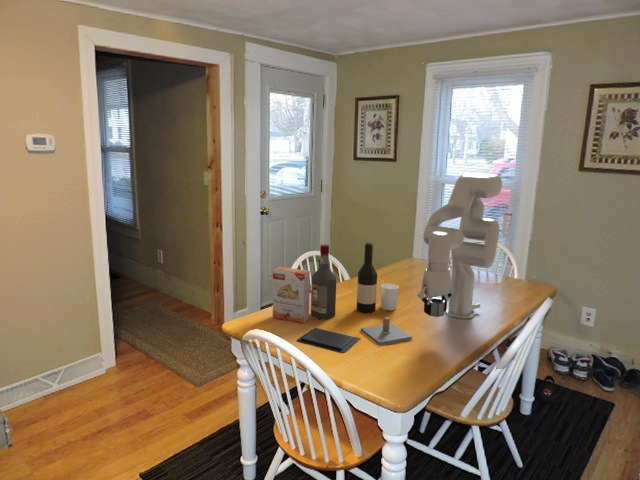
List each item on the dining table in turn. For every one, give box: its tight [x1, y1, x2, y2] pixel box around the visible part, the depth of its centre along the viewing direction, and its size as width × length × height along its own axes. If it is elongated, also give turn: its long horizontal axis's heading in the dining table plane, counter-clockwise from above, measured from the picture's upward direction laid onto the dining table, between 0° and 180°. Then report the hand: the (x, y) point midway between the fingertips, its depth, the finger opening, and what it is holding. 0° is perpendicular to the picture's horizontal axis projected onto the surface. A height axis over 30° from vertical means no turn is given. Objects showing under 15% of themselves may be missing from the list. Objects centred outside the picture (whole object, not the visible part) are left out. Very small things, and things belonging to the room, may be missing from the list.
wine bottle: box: [356, 241, 378, 314], centre depth 202 cm, size 8×8×30 cm
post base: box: [360, 316, 413, 346], centre depth 179 cm, size 14×14×7 cm
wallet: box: [296, 327, 362, 354], centre depth 175 cm, size 20×2×15 cm
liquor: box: [310, 244, 337, 321], centre depth 195 cm, size 9×9×30 cm
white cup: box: [380, 283, 400, 311], centre depth 208 cm, size 8×8×10 cm
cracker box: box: [272, 266, 311, 324], centre depth 192 cm, size 14×6×21 cm, turn 69°
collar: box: [427, 297, 445, 318], centre depth 175 cm, size 6×6×5 cm
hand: (435, 311), depth 175 cm, fingers closed on collar, 6 cm apart
